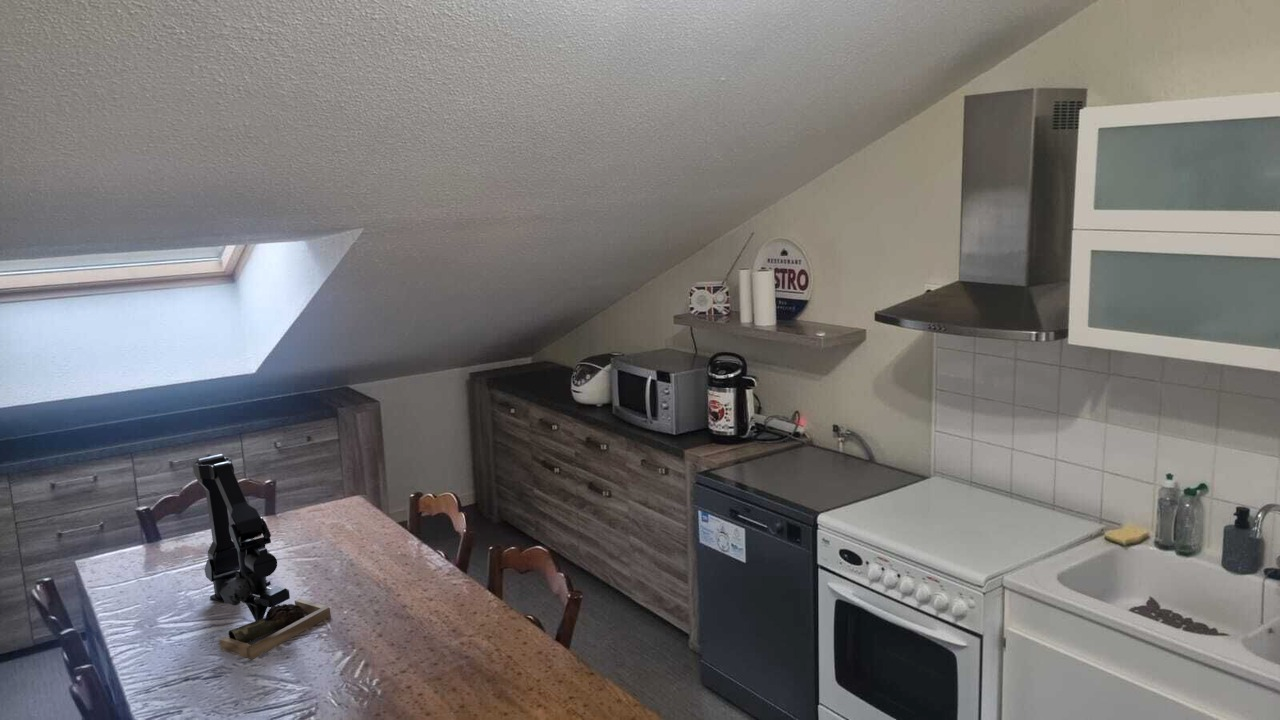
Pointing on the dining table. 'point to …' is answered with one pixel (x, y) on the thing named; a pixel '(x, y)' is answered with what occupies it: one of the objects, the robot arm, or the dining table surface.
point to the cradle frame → (252, 651)
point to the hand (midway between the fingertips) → (259, 622)
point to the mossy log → (268, 623)
